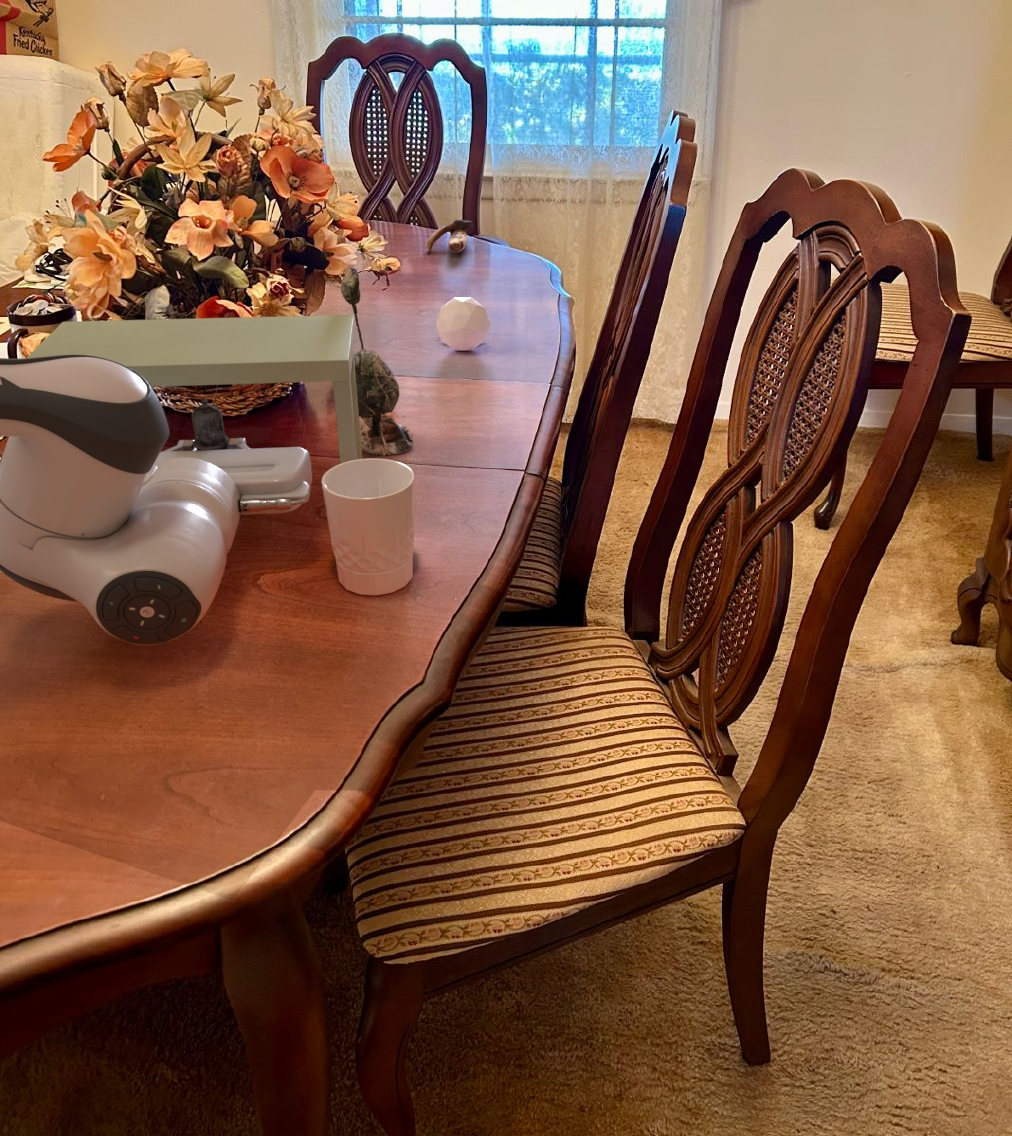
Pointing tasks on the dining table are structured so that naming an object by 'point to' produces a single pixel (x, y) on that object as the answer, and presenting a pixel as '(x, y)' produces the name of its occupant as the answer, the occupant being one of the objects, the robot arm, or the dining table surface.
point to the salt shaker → (208, 428)
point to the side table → (228, 355)
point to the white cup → (371, 524)
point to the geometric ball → (462, 323)
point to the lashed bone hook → (452, 235)
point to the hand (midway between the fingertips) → (213, 445)
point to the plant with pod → (375, 391)
